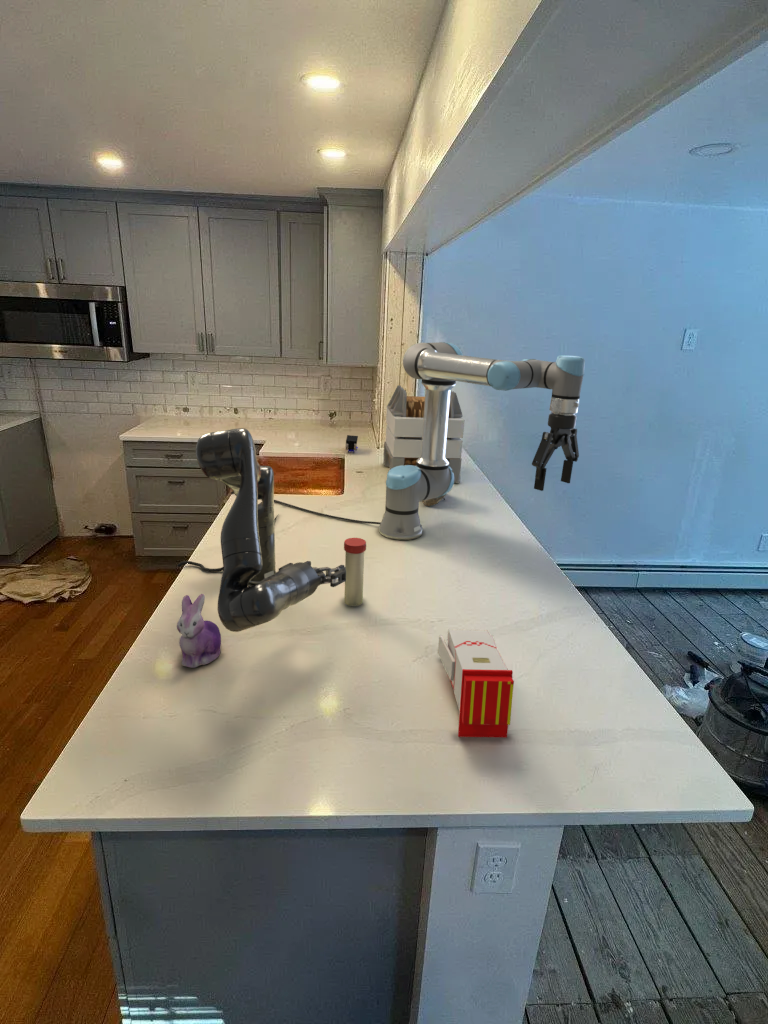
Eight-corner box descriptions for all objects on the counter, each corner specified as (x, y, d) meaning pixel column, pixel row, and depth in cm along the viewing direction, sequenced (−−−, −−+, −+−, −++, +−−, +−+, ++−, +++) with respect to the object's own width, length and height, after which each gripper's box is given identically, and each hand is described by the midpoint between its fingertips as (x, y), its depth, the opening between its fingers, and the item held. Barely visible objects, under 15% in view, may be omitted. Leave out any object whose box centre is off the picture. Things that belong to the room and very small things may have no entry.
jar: (348, 607, 150) (349, 548, 144) (341, 599, 154) (342, 541, 148) (365, 604, 152) (367, 545, 146) (358, 596, 156) (360, 538, 150)
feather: (285, 509, 222) (288, 505, 222) (267, 533, 195) (270, 529, 195) (282, 506, 222) (284, 502, 221) (263, 530, 195) (266, 526, 195)
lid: (348, 555, 144) (349, 547, 143) (340, 546, 149) (340, 539, 148) (369, 552, 146) (369, 544, 145) (360, 543, 151) (360, 536, 150)
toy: (488, 613, 130) (523, 677, 101) (484, 667, 133) (517, 744, 104) (435, 612, 130) (455, 676, 101) (432, 666, 133) (451, 743, 103)
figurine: (183, 674, 120) (177, 612, 115) (175, 649, 128) (169, 590, 123) (228, 663, 124) (224, 603, 119) (218, 640, 132) (214, 582, 127)
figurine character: (357, 456, 305) (358, 447, 318) (357, 443, 301) (358, 434, 315) (344, 456, 304) (346, 446, 318) (345, 443, 301) (346, 433, 315)
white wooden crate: (382, 463, 289) (386, 382, 275) (445, 464, 293) (451, 384, 279) (390, 482, 257) (394, 392, 243) (460, 483, 261) (468, 394, 247)
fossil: (417, 481, 247) (446, 462, 242) (430, 497, 250) (459, 479, 245) (415, 502, 227) (446, 482, 222) (429, 519, 230) (460, 500, 225)
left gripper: (324, 570, 113) (354, 554, 129) (262, 563, 118) (298, 548, 133) (323, 606, 115) (354, 586, 130) (262, 597, 119) (298, 579, 134)
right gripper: (548, 419, 148) (537, 496, 155) (598, 411, 163) (586, 482, 171) (525, 414, 153) (515, 489, 160) (575, 407, 169) (564, 476, 176)
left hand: (326, 567), depth 131 cm, fingers open, 8 cm apart
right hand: (552, 485), depth 166 cm, fingers open, 13 cm apart
